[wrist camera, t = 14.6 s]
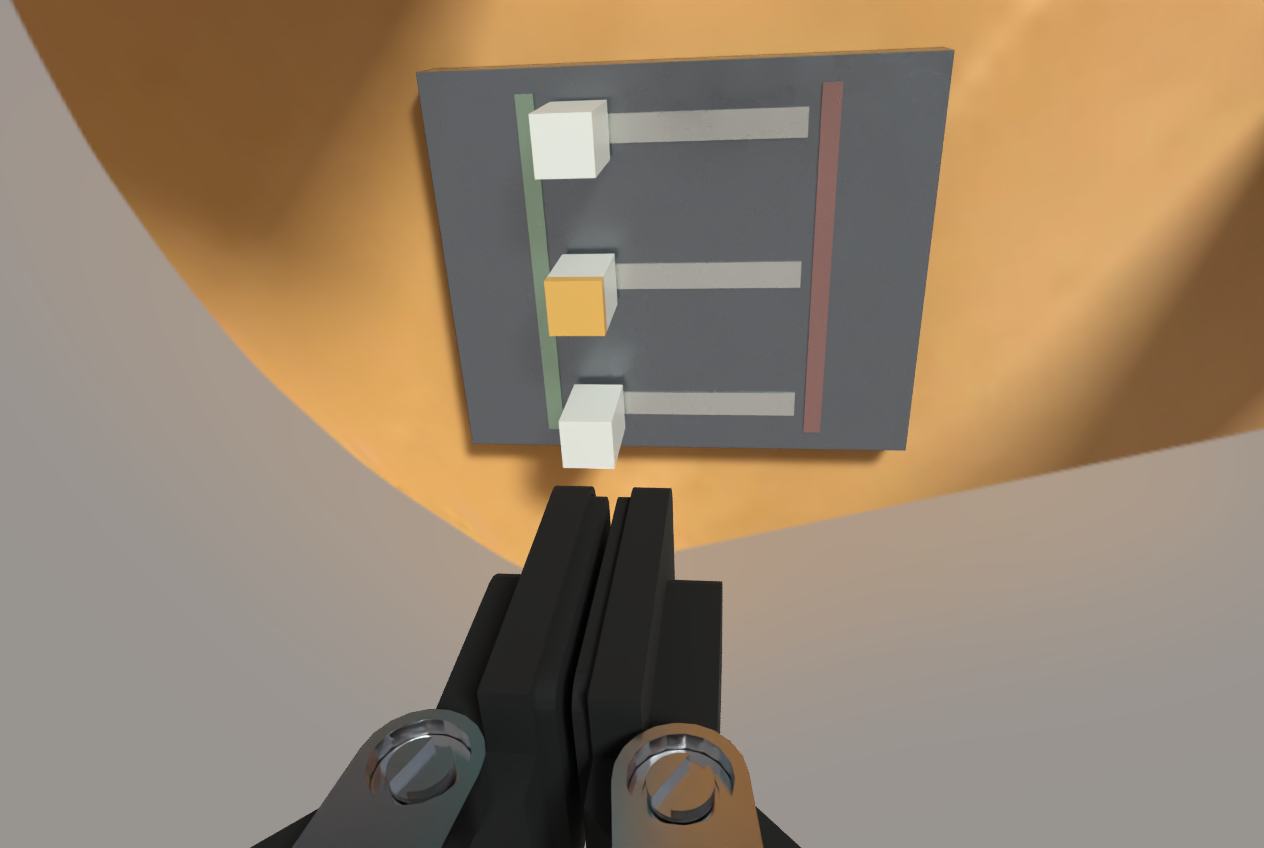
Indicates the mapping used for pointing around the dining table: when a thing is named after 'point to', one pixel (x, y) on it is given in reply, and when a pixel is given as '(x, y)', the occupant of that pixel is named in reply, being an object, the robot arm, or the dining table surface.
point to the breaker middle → (581, 295)
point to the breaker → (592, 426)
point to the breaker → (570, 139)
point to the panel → (699, 243)
